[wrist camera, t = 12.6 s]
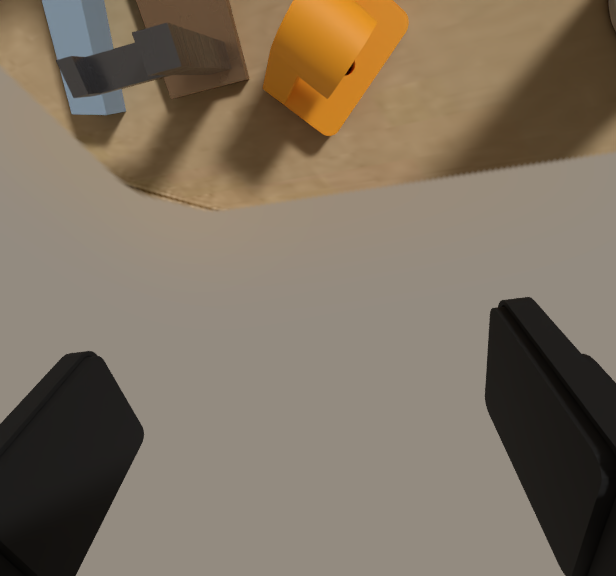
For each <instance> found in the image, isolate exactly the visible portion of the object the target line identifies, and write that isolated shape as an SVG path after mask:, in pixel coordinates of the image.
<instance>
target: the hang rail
mask: <svg viewBox="0 0 616 576" xmlns="http://www.w3.org/2000/svg"><path fill="white" fill-rule="evenodd" d="M42 3H43V7H44V11H45V15H46V18H47V22H48V26H49V30H50V34H51V37H52V41H53V45H54V49H55V53H56V56H57V60H59V59H62V58H66V57H69V56H79V57H87V56H91V55H94V54H98V53H101V52H105V51H108V50H112V49H113V44H112V39H111V34H110V28H109V23H108V18H107V13H106V8H105V3H104V0H42ZM60 72H61V70H60ZM61 75H62V73H61ZM62 79H63V83H64V87H65V91H66V94H67V98H68V102H69V106H70V110H71V113H72V114H81V115H110V114H115V113H120V112H125V111H126V109H125V104H124V99H123V94H122V89H119V90H116V91H112V92H108V93H105V94H101V95H97V96H91V97H80V98H73V96H72V94H71V92H70V90H69V87H68V85H67V83H66V81H65V79H64V77H63V75H62Z"/></svg>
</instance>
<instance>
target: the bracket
mask: <svg viewBox="0 0 616 576" xmlns="http://www.w3.org/2000/svg"><path fill="white" fill-rule="evenodd" d="M407 28H408V16H407V14H406V12H405V11H404V10H403V9H402V8H400V7H399V6H398V5H397V4H396V3H395V2H394V1H393V0H293V2H292V4H291V6H290V8H289V9H288V11H287V13H286V15H285V17H284V19H283V21H282V23H281V25H280V27H279V29H278V32H277V34H276V36H275V39H274V41H273V44H272V46H271V50H270V54H269V59H268V64H267V69H266V74H265V79H264V84H263V89H264V90H265V91H266V92H268V93H269V94H270V95H272V96H273V97H274V98H275V99H277V100H278V101H279V102H281V103H282V104H283V105H285V106H286V107H287V108H289V109H290V110H291V111H293V112H294V113H295V114H297V115H298V116H299V117H301V118H302V119H303V120H305V121H306V122H307V123H309V124H310V125H311V126H313V127H314V128H315V129H317V130H318V131H319V132H321V133H322V134H323V135H326V136H332V135H334V134H336V133H337V132H338V131H339V129H340V128H341V126H342V125H343V123H344V122H345V120H346V119H347V118H348V116H349V115H350V113H351V112H352V110H353V109H354V107H355V106H356V104H357V103H358V101H359V100H360V99H361V97H362V96H363V94H364V93H365V91H366V90H367V88H368V87H369V85H370V84H371V82H372V81H373V79H374V78H375V77H376V75H377V74H378V72H379V71H380V69H381V68H382V66H383V65H384V63H385V62H386V60H387V59H388V58H389V56H390V55H391V53H392V52H393V50H394V49H395V47H396V46H397V44H398V43H399V41H400V40H401V38H402V37H403V36H404V34H405V33H406V31H407ZM352 63H353V67H352V70H351V72H350V73H349V74H347V75H345V74H346V73H347V71H348V70H349V68H350V67H351V65H352Z"/></svg>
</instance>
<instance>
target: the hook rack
mask: <svg viewBox="0 0 616 576" xmlns="http://www.w3.org/2000/svg"><path fill="white" fill-rule="evenodd" d="M136 2H137V5H138V8H139V10H140V13H141V16H142V19H143V22H144V24H145V27H146V29H143V30H139V31H136V32H132V35H133V38H134V40H135V43H133V44H129V45H126V46H122V47H119V48H115V49H112V50H108V51H105V52H101V53H98V54H94V55H91V56H87V57H79V56H69V57H66V58H62V59H59V60H56V62H57V64H58V66H59V68H60V70H61V73H62V75H63V77H64V79H65V81H66V83H67V85H68V87H69V90H70V92H71V94H72V96H73V98H80V97H91V96H97V95H101V94H105V93H108V92H112V91H116V90H119V89H123V88H127V87H131V86H134V85H138V84H142V83H145V82H149V81H153V80H157V79H160V78H164V80H165V83H166V86H167V89H168V92H169V94H170V97H171V99H174V98H179V97H182V96H186V95H190V94H194V93H198V92H202V91H205V90H209V89H213V88H217V87H221V86H225V85H228V84H232V83H236V82H240V81H244V80H248V79H249V76H248V72H247V68H246V64H245V60H244V57H243V53H242V49H241V45H240V41H239V37H238V34H237V30H236V26H235V22H234V18H233V15H232V11H231V7H230V3H229V0H136Z"/></svg>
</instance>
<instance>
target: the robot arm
mask: <svg viewBox="0 0 616 576" xmlns="http://www.w3.org/2000/svg"><path fill="white" fill-rule="evenodd" d="M609 12H610V17H611V22H612V25H613V27H614V29H615V31H616V0H609ZM489 325H490V326H489V341H488V356H487V373H486V388H485V401H486V406H487V409H488V412H489V415H490V417H491V419H492V421H493V423H494V426H495V428H496V430H497V432H498V434H499V436H500V438H501V441H502V443H503V445H504V447H505V449H506V451H507V454H508V456H509V458H510V460H511V462H512V464H513V467H514V469H515V471H516V473H517V475H518V477H519V480H520V482H521V484H522V486H523V488H524V490H525V492H526V495H527V497H528V499H529V501H530V503H531V505H532V508H533V510H534V512H535V514H536V516H537V518H538V521H539V523H540V525H541V527H542V529H543V531H544V533H545V536H546V538H547V540H548V542H549V544H550V547H551V549H552V551H553V553H554V555H555V557H556V560H557V562H558V564H559V566H560V567H561V570H562V571H563V573H564V574H565V575H566V576H616V383H615V382H614V381H613V380H612V378H611V377H610V376H609V375H608V374H607V373H606V372H605V371H604V370H603V369H602V367H601V366H600V365H599V364H598V363H597V362H596V361H595V360H594V359H593V358H591V357H590V356H588V355H585V354H581V353H580V352H579V351H578V350H577V348H576V347H575V346H574V345H573V344H572V343H571V342H570V340H568V338H567V337H566V336H565V335H564V334H563V333H562V331H561V330H560V329H559V328H558V327H557V326H556V325H555V324H554V322H553V321H552V320H551V319H550V318H549V317H548V316H547V314H546V313H545V312H544V311H543V310H542V309H541V308H540V306H539V305H538V304H537V303H536V302H535V301H534V300H533V299H532V298H530V297H525V298H516V299H508V300H502V301H500V303H499V305H498V308H492V309H491V312H490V324H489ZM143 438H144V431H143V427H142V426H141V424H140V422H139V420H138V418H137V417H136V415H135V414H134V412H133V410H132V408H131V406H130V405H129V403H128V401H127V399H126V398H125V396H124V394H123V393H122V391H121V390H120V388H119V386H118V384H117V382H116V381H115V379H114V377H113V375H112V374H111V372H110V370H109V369H108V367H107V365H106V363H105V362H104V360H103V359H102V358H101V357H100V356H97V355H96V354H95V353H94V352H92V351H86V352H77V353H70V354H66V355H65V356H64V357H62V358H61V359H60V360H59V362H57V364H56V365H55V366H54V367H53V368H52V369H51V370H50V371H49V372H48V373H47V374H46V375H45V376H44V378H43V379H42V380H41V381H40V382H39V383H38V384H37V385H36V386H35V387H34V388H33V389H32V391H30V393H29V394H28V395H27V396H26V397H25V398H24V399H23V400H22V401H21V402H20V404H19V405H18V406H17V407H16V408H15V409H14V410H13V411H12V412H11V413H10V414H9V415H8V416H7V417H6V418H5V420H4V421H3V422H2V423H1V424H0V576H76V574H77V572H78V570H79V568H80V566H81V564H82V562H83V560H84V558H85V556H86V554H87V552H88V549H89V548H90V546H91V544H92V542H93V540H94V538H95V536H96V534H97V532H98V530H99V528H100V526H101V524H102V522H103V520H104V518H105V516H106V514H107V512H108V510H109V508H110V506H111V504H112V502H113V500H114V498H115V496H116V494H117V492H118V490H119V488H120V486H121V484H122V482H123V480H124V478H125V476H126V474H127V472H128V470H129V468H130V466H131V464H132V462H133V460H134V458H135V456H136V454H137V452H138V450H139V448H140V446H141V444H142V442H143Z"/></svg>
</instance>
